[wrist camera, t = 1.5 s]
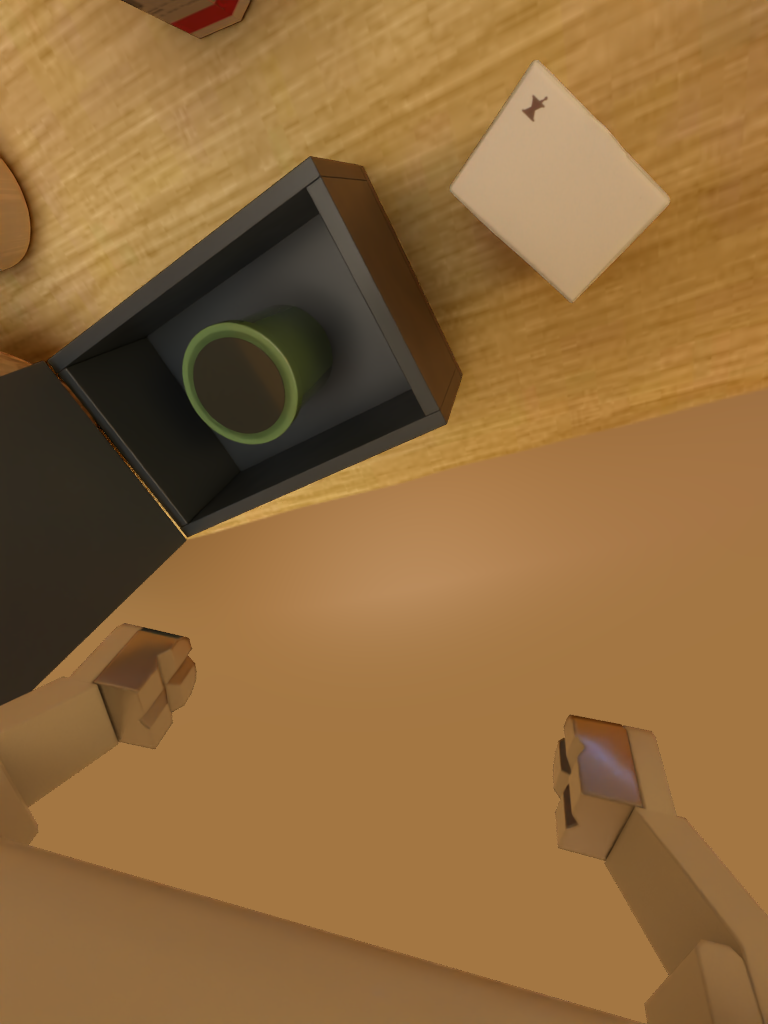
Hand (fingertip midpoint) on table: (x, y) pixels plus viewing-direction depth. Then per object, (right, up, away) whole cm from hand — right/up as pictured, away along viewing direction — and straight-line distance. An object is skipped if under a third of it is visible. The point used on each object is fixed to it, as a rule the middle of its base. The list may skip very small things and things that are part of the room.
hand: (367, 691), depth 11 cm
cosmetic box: (+9, +20, +16) cm, 27 cm away
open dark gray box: (-6, +14, +23) cm, 28 cm away
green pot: (-6, +14, +22) cm, 27 cm away
